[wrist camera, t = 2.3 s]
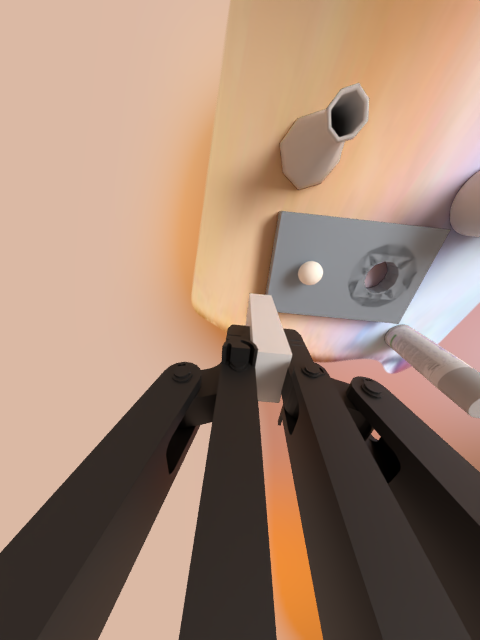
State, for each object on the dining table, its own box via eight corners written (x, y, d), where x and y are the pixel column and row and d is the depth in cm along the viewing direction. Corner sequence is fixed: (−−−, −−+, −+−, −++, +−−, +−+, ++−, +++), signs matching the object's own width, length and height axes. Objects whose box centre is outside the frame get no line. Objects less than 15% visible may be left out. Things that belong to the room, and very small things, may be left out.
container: (417, 325, 34) (526, 392, 21) (404, 346, 36) (496, 420, 23) (391, 323, 34) (484, 390, 21) (380, 345, 36) (458, 417, 23)
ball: (298, 257, 27) (304, 262, 24) (321, 260, 27) (330, 265, 24) (293, 280, 28) (298, 287, 25) (314, 282, 28) (322, 289, 26)
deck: (279, 211, 26) (282, 211, 24) (433, 228, 27) (450, 229, 25) (263, 304, 33) (264, 310, 31) (388, 316, 33) (398, 323, 31)
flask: (327, 95, 21) (386, 6, 12) (347, 165, 24) (408, 133, 15) (269, 141, 23) (284, 93, 14) (294, 201, 26) (320, 192, 17)
